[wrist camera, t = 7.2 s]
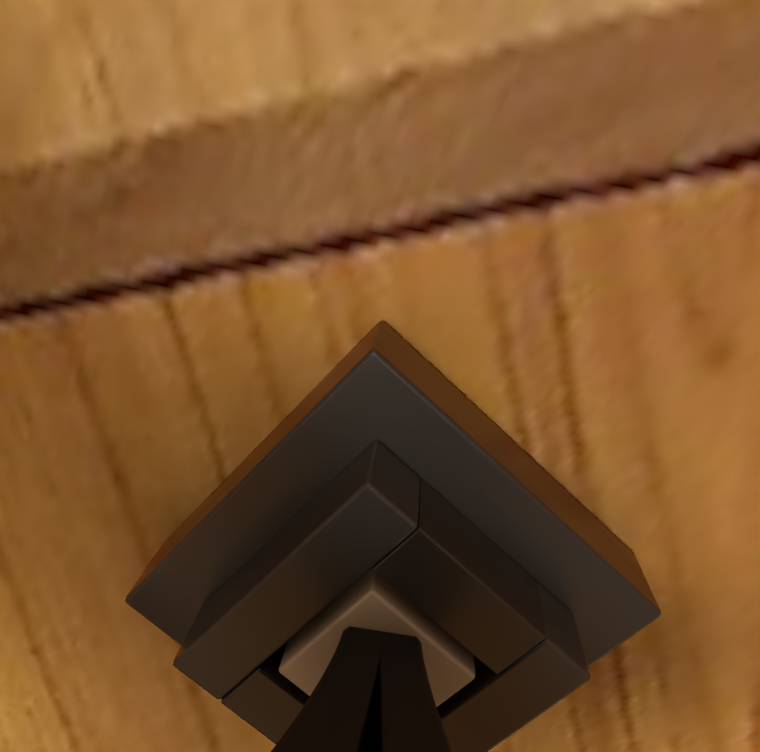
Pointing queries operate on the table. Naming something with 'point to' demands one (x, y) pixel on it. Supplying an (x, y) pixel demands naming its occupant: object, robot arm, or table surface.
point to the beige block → (382, 613)
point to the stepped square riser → (395, 550)
